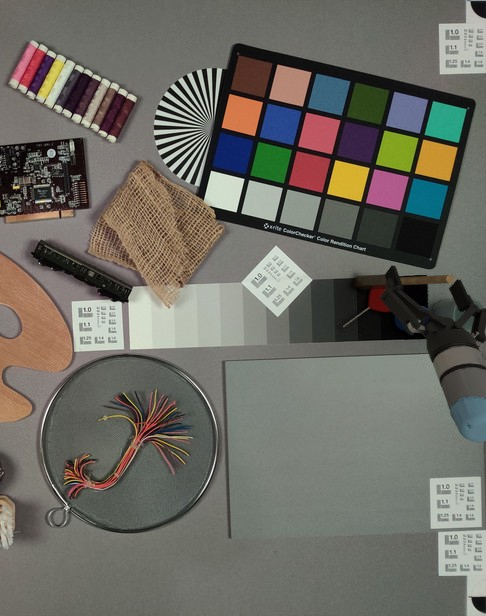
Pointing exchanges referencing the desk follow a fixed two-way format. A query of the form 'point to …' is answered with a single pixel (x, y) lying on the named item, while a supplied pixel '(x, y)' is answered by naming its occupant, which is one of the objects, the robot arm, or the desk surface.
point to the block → (370, 282)
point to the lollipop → (374, 302)
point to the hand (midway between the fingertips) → (422, 277)
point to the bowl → (403, 325)
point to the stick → (427, 280)
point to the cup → (454, 311)
